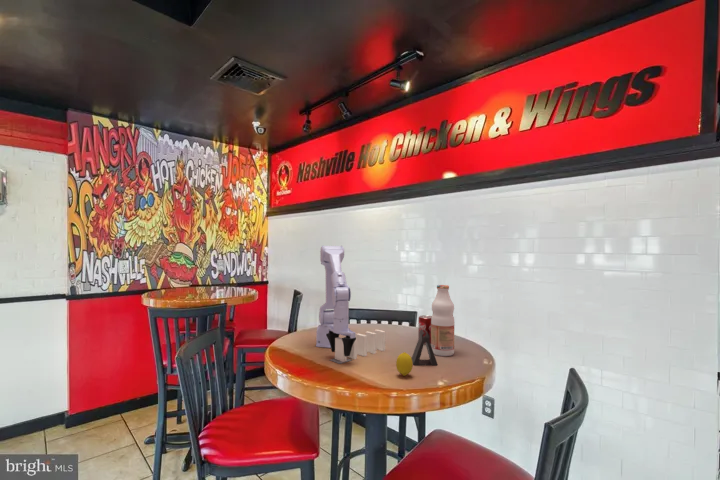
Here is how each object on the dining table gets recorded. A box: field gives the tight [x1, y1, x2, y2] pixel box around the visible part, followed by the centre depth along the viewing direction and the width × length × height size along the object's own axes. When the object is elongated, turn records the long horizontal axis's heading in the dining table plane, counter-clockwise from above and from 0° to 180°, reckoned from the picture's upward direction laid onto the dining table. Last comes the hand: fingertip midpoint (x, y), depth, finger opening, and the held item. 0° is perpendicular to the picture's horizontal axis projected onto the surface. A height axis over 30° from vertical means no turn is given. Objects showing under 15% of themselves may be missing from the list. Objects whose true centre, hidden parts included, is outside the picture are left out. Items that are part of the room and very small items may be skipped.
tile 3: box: [356, 333, 368, 357], centre depth 144 cm, size 2×5×8 cm, turn 44°
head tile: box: [373, 329, 386, 352], centre depth 152 cm, size 2×5×8 cm, turn 44°
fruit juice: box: [431, 284, 455, 357], centre depth 148 cm, size 9×9×28 cm
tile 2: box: [364, 331, 377, 355], centre depth 148 cm, size 2×5×8 cm, turn 44°
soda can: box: [417, 314, 432, 346], centre depth 163 cm, size 7×7×12 cm
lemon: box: [395, 351, 414, 377], centre depth 121 cm, size 6×6×8 cm
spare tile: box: [334, 336, 348, 363], centre depth 137 cm, size 2×5×8 cm, turn 44°
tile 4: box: [347, 338, 358, 360], centre depth 140 cm, size 2×5×8 cm, turn 44°
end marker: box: [329, 357, 353, 365], centre depth 137 cm, size 6×6×1 cm
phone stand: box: [411, 329, 439, 367], centre depth 135 cm, size 9×6×12 cm, turn 89°
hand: (340, 353), depth 137 cm, fingers open, 7 cm apart
